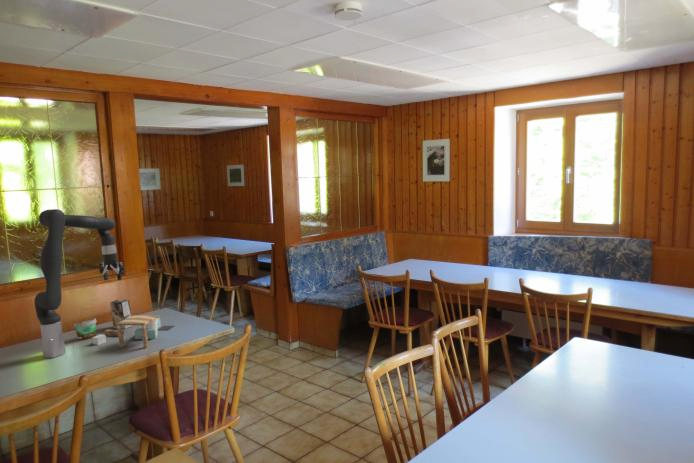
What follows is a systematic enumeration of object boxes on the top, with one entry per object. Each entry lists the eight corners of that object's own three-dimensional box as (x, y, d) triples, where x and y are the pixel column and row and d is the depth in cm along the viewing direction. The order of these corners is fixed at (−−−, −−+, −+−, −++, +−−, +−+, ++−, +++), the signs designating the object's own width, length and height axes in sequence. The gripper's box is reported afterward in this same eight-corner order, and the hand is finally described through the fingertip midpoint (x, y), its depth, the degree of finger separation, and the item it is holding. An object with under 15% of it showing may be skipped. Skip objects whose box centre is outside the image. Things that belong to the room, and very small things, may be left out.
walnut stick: (124, 335, 281) (124, 330, 281) (121, 336, 279) (120, 331, 278) (108, 334, 285) (107, 329, 284) (104, 335, 283) (104, 330, 282)
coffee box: (133, 325, 298) (129, 299, 296) (125, 328, 292) (122, 302, 290) (120, 325, 301) (117, 299, 299) (112, 328, 295) (109, 302, 293)
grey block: (98, 345, 266) (97, 338, 266) (93, 344, 268) (92, 337, 268) (106, 342, 271) (105, 334, 270) (101, 341, 273) (100, 334, 272)
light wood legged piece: (147, 347, 256) (144, 323, 255) (119, 347, 259) (116, 323, 258) (162, 338, 270) (159, 315, 269) (136, 338, 273) (133, 315, 272)
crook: (155, 338, 270) (154, 330, 270) (135, 339, 272) (134, 330, 271) (175, 325, 292) (174, 317, 291) (156, 326, 294) (155, 318, 293)
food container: (80, 342, 273) (78, 324, 272) (75, 340, 277) (73, 323, 276) (102, 335, 283) (100, 318, 281) (97, 333, 286) (95, 317, 285)
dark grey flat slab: (168, 330, 284) (168, 329, 284) (157, 330, 286) (157, 329, 286) (174, 326, 291) (174, 325, 291) (163, 326, 292) (163, 325, 292)
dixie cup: (155, 338, 271) (153, 320, 270) (141, 338, 272) (138, 320, 271) (162, 332, 280) (160, 315, 278) (148, 333, 281) (146, 316, 279)
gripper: (94, 254, 282) (97, 282, 284) (116, 253, 279) (119, 281, 282) (102, 251, 290) (106, 279, 292) (124, 251, 287) (128, 278, 289)
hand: (113, 280), depth 287 cm, fingers open, 8 cm apart
